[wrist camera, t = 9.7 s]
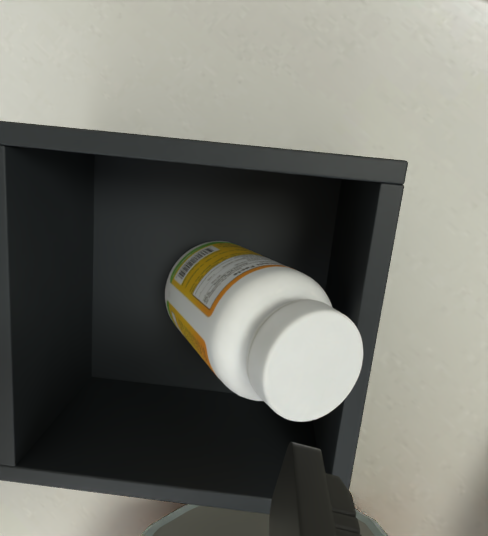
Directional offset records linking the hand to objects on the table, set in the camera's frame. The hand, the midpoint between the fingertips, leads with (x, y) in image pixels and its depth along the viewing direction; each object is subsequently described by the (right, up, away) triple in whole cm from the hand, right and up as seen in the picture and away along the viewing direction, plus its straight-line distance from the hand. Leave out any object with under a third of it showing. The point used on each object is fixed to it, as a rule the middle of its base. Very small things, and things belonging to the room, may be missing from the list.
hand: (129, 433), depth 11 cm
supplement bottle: (+1, +3, +12) cm, 13 cm away
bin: (+1, +3, +14) cm, 15 cm away
